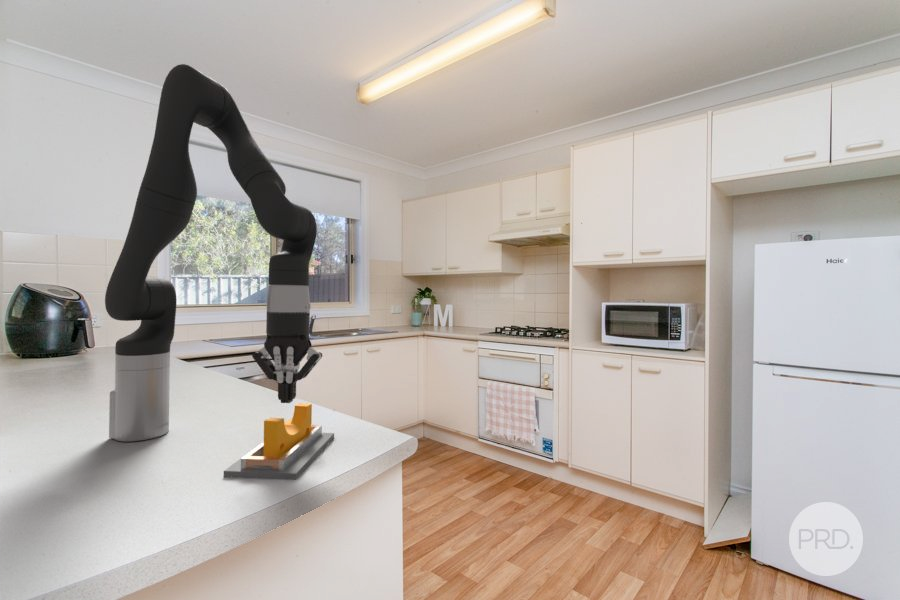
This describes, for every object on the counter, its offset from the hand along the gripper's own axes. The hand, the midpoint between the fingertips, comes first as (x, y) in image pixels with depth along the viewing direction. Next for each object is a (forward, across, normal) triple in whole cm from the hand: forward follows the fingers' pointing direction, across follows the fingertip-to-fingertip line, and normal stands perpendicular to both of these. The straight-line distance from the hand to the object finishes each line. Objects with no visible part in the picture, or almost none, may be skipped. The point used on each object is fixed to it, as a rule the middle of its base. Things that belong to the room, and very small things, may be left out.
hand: (287, 402), depth 77 cm
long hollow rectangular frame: (+10, 0, 0) cm, 10 cm away
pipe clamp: (+8, 0, 0) cm, 8 cm away
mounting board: (+10, 0, 0) cm, 10 cm away
